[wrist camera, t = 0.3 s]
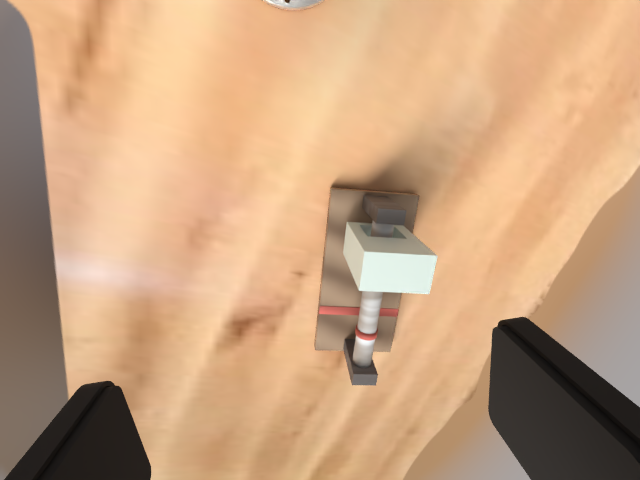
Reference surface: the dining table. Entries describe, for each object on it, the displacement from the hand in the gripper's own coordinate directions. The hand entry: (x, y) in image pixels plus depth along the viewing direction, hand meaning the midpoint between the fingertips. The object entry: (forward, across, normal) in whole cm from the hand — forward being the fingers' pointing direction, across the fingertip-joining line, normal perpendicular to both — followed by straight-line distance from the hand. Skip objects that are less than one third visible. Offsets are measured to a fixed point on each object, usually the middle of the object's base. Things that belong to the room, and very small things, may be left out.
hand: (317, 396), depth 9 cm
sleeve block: (+32, -8, +8) cm, 34 cm away
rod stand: (+35, -7, +13) cm, 38 cm away
